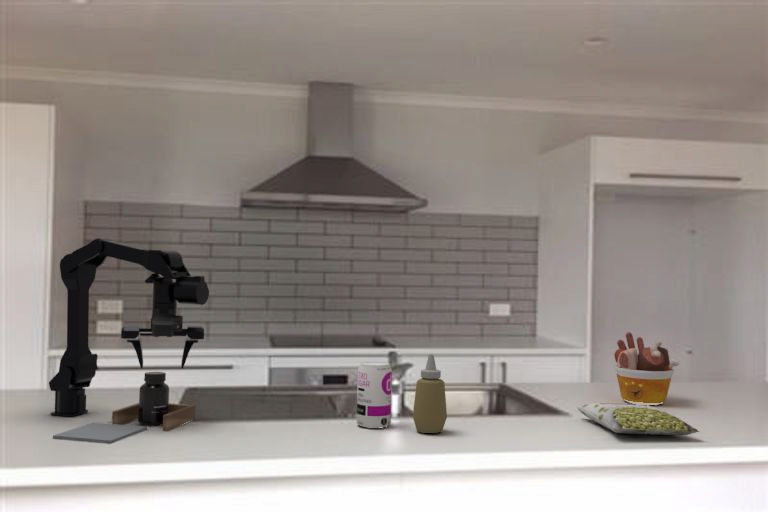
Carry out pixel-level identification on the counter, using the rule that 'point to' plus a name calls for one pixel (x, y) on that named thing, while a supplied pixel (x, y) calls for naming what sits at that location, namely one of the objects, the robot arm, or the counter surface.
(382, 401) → the supplement can
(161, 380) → the supplement bottle
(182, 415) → the walnut frame
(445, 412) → the squeeze bottle
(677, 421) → the frozen beans
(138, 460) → the counter surface
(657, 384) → the bucket of meat
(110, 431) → the grey mat
